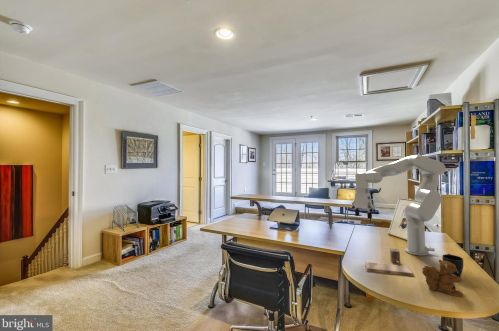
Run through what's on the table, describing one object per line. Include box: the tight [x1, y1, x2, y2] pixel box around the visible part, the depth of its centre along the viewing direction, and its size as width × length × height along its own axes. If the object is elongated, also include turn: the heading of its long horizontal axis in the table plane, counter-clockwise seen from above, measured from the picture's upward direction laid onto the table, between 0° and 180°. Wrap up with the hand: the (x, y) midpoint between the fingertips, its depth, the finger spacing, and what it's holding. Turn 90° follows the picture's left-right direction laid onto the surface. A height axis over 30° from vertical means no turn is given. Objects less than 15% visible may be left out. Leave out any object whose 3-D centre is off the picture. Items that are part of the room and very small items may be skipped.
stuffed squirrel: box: [421, 259, 464, 297], centre depth 111 cm, size 10×14×13 cm
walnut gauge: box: [389, 248, 401, 265], centre depth 140 cm, size 4×10×7 cm, turn 160°
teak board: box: [364, 261, 415, 277], centre depth 133 cm, size 22×9×2 cm, turn 70°
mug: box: [441, 253, 464, 278], centre depth 125 cm, size 8×12×10 cm
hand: (363, 217), depth 158 cm, fingers open, 9 cm apart
